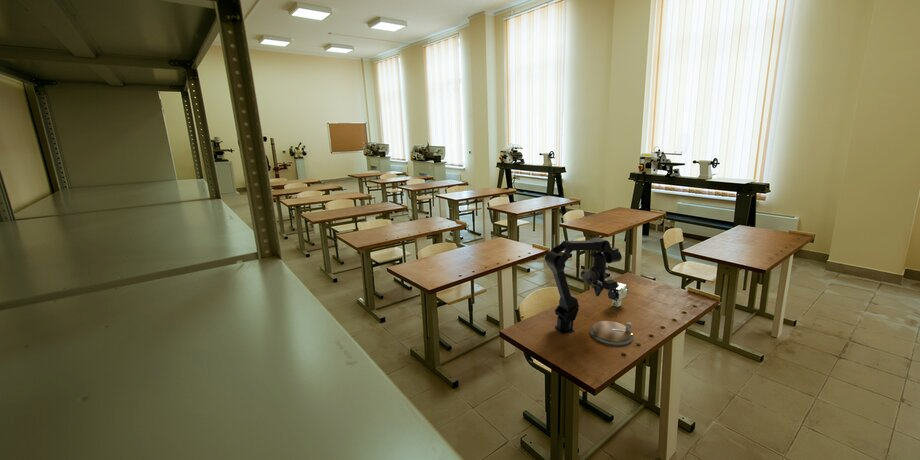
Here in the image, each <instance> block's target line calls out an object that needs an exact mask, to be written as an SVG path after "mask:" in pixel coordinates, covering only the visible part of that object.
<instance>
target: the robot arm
mask: <svg viewBox="0 0 920 460" xmlns="http://www.w3.org/2000/svg"><path fill="white" fill-rule="evenodd" d="M619 250H620V249H619V248H618V247H616V246H615V247H613V248H612V246H611V243H610V241H609V240H606V239H605V238H601V237H599V236H597V237H593V238H590V239H587V240H563V241H561V243H560V244H558V245H556V246H554V247H552V249H550V250H549V251H548V252H547V253H546V255H545V256H544V261H545V263H546V265H547V268H549V269H550V271H551V272H552V274H553V275H552V276H553V278H554V281H555V284H556V287H557V290H558V293H559V300H558V306H557V307H556V308H555V310H554V314H555V315H557V317H556V325H555V326H554V327H555V329H557V330H558V331H559V333H561V334H567V333H572V332H575V329H574V321H576V318H577V315H578V313H579V309H580V308H579V307H580V305H579V302H578V299H577V297H574V296H573V295H571V291H570V287H569V284H568V281H567V278H566V274H565V268H566V262H567V261H568V260H569V259H570V256H571V253H572V252H575V251H576V252H577V251H592V252H591V253H590V254H589V257H592V259H593V261H592V265H591V266H590V268H589V269H584V270H582V271H581V272H580V277H581V279H582V281H583V282H584V283H586V284H588V285H590V284H591V285H592V287H593V290H594V293H595V297H599V296H600V295H601V293H602V292H603V290H606V291H609V290H611V289H615V288H618V283H619V282H617V281H615V280H614V279H608V275H607V273H606V272H607V270H609V267H608V266H607V264H614V263H618V262H620V261H622V259H623V258H622V253H621V252H620V251H619ZM562 252H563V253H562ZM560 253H562V254H560Z"/></svg>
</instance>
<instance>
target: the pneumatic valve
mask: <svg viewBox="0 0 920 460" xmlns="http://www.w3.org/2000/svg"><path fill="white" fill-rule="evenodd" d="M617 283H618V288H615V289H611V290H608V292H607V296H608V299H609V300H612V303H611V305H612V306H613V307H616V308H618V307H621V306H622V301H623V300H622V299H623V298H625V297H626V296H627V295H628V293H629V289H628V285H627V284H625V283H622V282H617Z"/></svg>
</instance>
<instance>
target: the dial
mask: <svg viewBox="0 0 920 460" xmlns="http://www.w3.org/2000/svg"><path fill="white" fill-rule="evenodd" d="M592 326H593V333H594V334H595V335H596V336H597V337H599V338H600V339H603V340H606V341H610V342H624V341H627V340H629V339H630V337H631V332H632V326H633V325H632V322H625V324H622V323H620V322H617V321H611V320H601V321H597V322H595V323H594V324H593V325H592Z"/></svg>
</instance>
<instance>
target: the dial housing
mask: <svg viewBox="0 0 920 460" xmlns="http://www.w3.org/2000/svg"><path fill="white" fill-rule="evenodd" d="M589 334H590V336H591V337H592V338H593V339H594V340H595V341H597V342H599V343H600V344H604V345H609V346H616V347H618V346H619V347H622V346H628V345H629V344H631V343H632V342H634V334H633V332H632V331H631V337H630V339H629V340H627V341H624V342H610V341H606V340H603V339H600V338H599V337H597V336H596V335H595V334H594V333H593V325H591V327H590V329H589Z"/></svg>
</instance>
